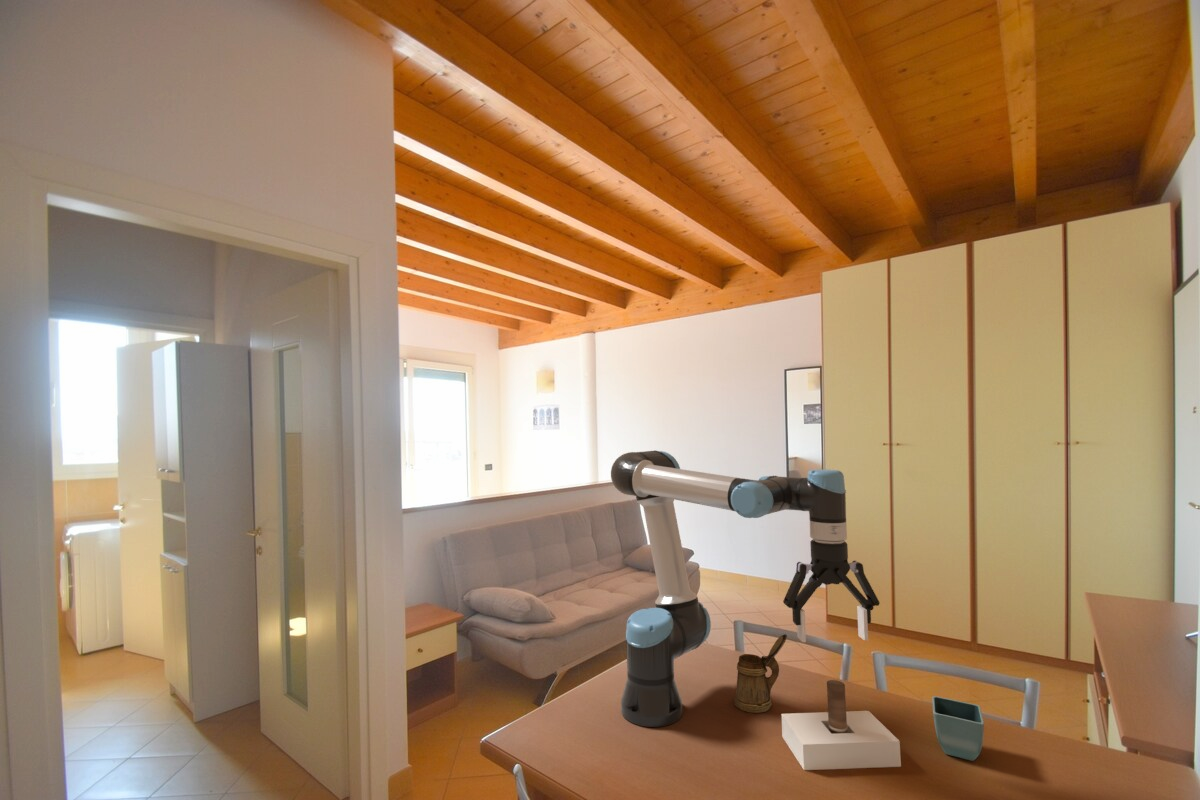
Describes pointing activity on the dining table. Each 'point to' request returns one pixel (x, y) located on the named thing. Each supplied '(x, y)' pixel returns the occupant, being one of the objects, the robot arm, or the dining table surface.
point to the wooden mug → (757, 679)
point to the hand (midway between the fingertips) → (832, 639)
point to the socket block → (840, 742)
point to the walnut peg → (836, 707)
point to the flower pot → (958, 727)
